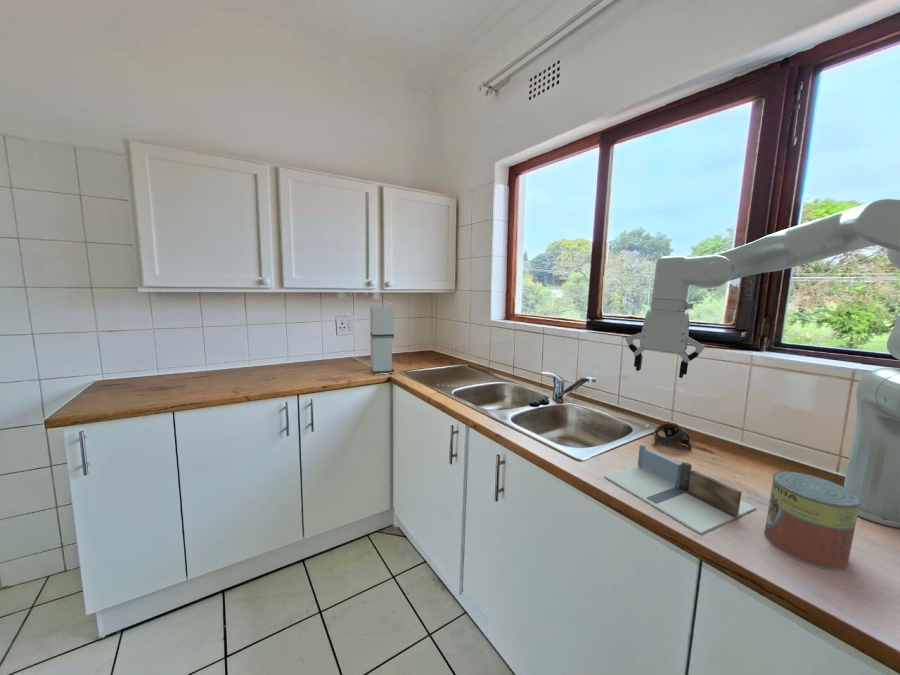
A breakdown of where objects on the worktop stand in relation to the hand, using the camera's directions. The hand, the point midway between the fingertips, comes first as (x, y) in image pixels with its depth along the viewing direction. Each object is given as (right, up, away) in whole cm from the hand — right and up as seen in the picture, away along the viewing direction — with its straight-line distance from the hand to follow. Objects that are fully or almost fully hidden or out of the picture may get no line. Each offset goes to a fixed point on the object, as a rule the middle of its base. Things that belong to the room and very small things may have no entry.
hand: (659, 373), depth 93 cm
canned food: (+12, -30, -25) cm, 41 cm away
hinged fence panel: (-2, -25, -2) cm, 25 cm away
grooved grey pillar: (-90, -10, +100) cm, 135 cm away
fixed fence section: (+3, -28, -12) cm, 30 cm away
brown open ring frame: (+14, -24, +17) cm, 33 cm away
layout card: (-1, -27, -8) cm, 28 cm away
